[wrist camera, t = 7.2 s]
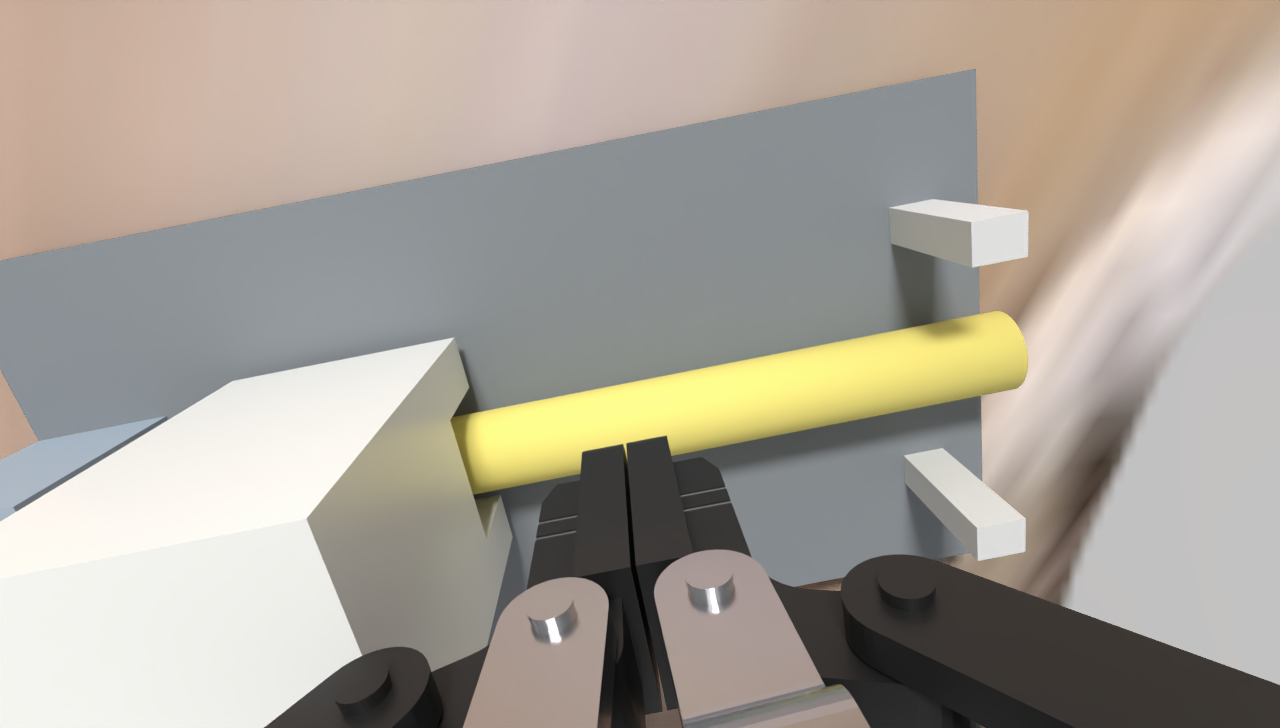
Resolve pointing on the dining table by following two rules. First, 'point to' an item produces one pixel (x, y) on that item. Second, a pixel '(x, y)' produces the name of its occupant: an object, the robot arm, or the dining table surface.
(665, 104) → the dining table surface
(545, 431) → the linear slide rail
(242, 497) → the sleeve
